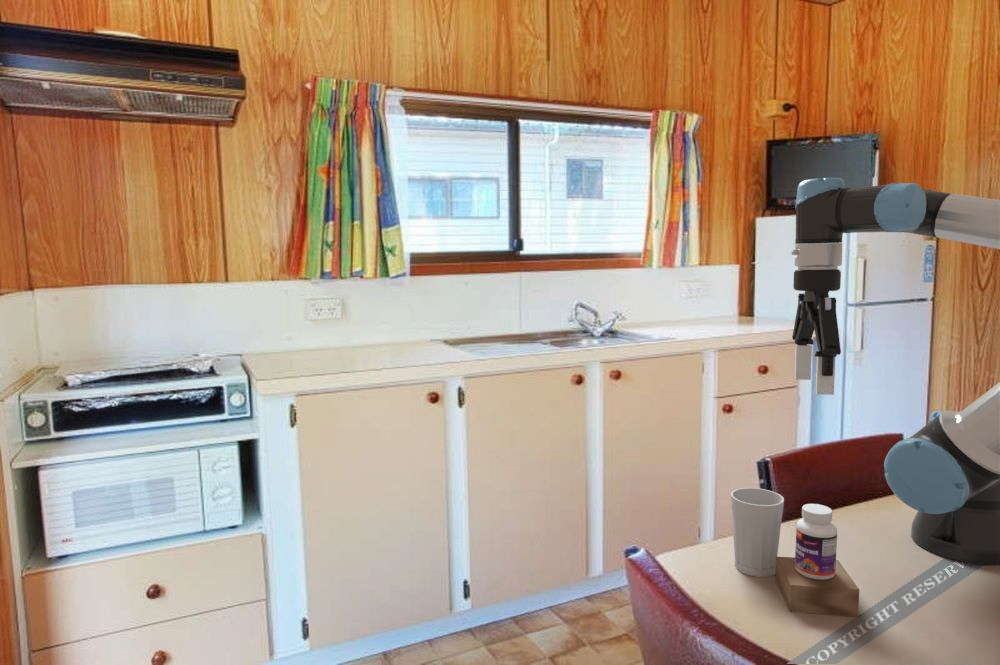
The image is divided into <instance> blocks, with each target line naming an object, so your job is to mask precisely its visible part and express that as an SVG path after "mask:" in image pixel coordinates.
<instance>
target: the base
mask: <svg viewBox="0 0 1000 665" xmlns="http://www.w3.org/2000/svg"><path fill="white" fill-rule="evenodd" d="M774 576H775V577H774V582H775V584H776V586H777V588H778V591H780V594H781V597H782V598H783V600H784V603H785V605H786V607H787V608H788V609H787V610H788V611H789V612H790V613H801V614H802V613H803V614H805V613H806V614H816V615H817V614H818V615H830V616H831V615H832V616H842V617H843V616H844V617H856V618H857V617H859V609H860V608H859V607H860V606H859V605H860V588H859V587H858V585H857V584H856V583H855V582H854V580H853V579H852V577H851V575H849V572H848V571H846V569H845V568H844V566H843V565H842V564H841V562H840V561H839V560H838V559H836V570H835V575H834V577H833V578H831V579H827V580H817V579H812V578H808V577H806V576H803V575H801V574H800V573H799V572H798V571H797V570H796V569H795V556H794V557H792V556H791V557H789V556H778V555H777V556H776V566H775V574H774Z"/></svg>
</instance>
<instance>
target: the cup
mask: <svg viewBox="0 0 1000 665" xmlns="http://www.w3.org/2000/svg"><path fill="white" fill-rule="evenodd" d="M730 499H731V501H730V502H731V511H732V512H731V513H732V529H733V530H732V531H733V532H732V533H733V546H734V547H733V548H734V549H733V550H734V567H735V569H736V568H737V569H738V570H737V569H736V570H737V571H739V572H740V571H741V572H740V573H742V574H744V575H748V576H751V577H752V576H753V577H758V578H767V577H771V576H775V566H776V556H777V557H778V554H779V553H778V552H779V546H780V545H779V544H780V536H781V526H782V520H783V513H784V507H785V506H784V505H785V498H784V496H783V495H782V494H779V493H777V492H776V491H772V490H769V489H765V488H759V487H745V488H744V487H742V488H741V487H740V488H737V489H734V490H733V491H732V492H730Z"/></svg>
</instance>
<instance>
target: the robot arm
mask: <svg viewBox="0 0 1000 665" xmlns="http://www.w3.org/2000/svg"><path fill="white" fill-rule="evenodd" d="M794 208H795V240H794V241H795V242H794V249H792V250H791V255H793V256H794V266H795V267H797V269H795V270H794V271H793V290H795V291H800V292H803V293H798V296H797V298H798V300H797V309H796V315H795V319H794V326H793V332H792V335H791V336H792V337H791V338H792V340H793V341H794V345H795V348H794V350H795V356H794V358H795V359H794V380H797V381H799V380H801V381H803V380H804V381H806V380H807V381H811V379H812V355H813V354H812V350H813V346H812V345H814V344H815V342H814V339H813V334H814V335H815V339H816V344H817V349H818V351H816V352H815V353H814V357H815V358H816V367H815V369H816V372H815V394H816V395H824V396H825V395H827V396H829V395H830V396H831V395H834V394H835V379H836V378H835V374H836V371H835V370H836V357H837V356H838V355H841V353H842V350H841V349H842V348H841V342H840V334H839V326H838V317H837V316H838V315H837V298H836V297H830V296H829V292H836V291H839V290H840V289H841V280H842V278H841V277H842V271H841V269H838V267H840V266H842V265H843V264H842V263H843V262H842V261H843V234H853V233H907V234H914V235H918V236H919V235H920V236H923V237H930V238H938V239H943V240H949V241H953V242H960V243H965V244H969V245H970V244H971V245H975V246H981V247H986V248H991V249H996V250H1000V199H995V198H989V197H982V196H974V195H966V194H960V193H959V194H958V193H949V192H944V191H942V192H941V191H936V190H932V189H927V188H926V189H925V188H922V186H921V185H920V184H918V183H914V182H905V183H904V182H902V183H898V182H892V183H888V184H882V185H873V186H872V185H871V186H861V187H854V188H852V187H846V185H845V180H844V179H843V178H841V177H822V178H811V179H809V178H808V179H805V180H802V181H801V182H799V184H798V185H797V190H796V201H795V205H794ZM883 463H884V464H883V467H884V468H883V469H884V478H885V481H886V483H887V485H888V487H889V488H890V489H891V491H892V492H893V494H894V495H895V496H896V497H897V498H898V499H899V500H900V501H901V502H902V503H904V504H905V505H907V507H909V508H912V509H913V510H915V511H916V514H915V516H914V518H913V520H912V523H911V532H910V536H911V539H912V540H913V541H914V543H916V544H917V545H918V546H920V547H921V548H923V549H925V550H927V551H928V552H931V553H933V554H936V555H939V556H941V557H945V558H949V559H951V560H955V561H960V562H964V563H971V564H977V565H989V566H995V565H996V566H997V565H1000V381H999V382H998V383H996V384H995V385H994V386H993V387H991V388H990V389H988V391H986V392H984V393H983V394H982V395H981V396H979V397H978V398H977V399H975V400H974V401H973V402H972V403H971V404H969V405H968V406H966V407H965V408H964V409H963V410H962V411H961V410H960V411H955V410H936V411H935V410H934V411H933V412H931V413H930V415H929V420H928V421H927V424H926V425H925V426H923V427H921V428H920V429H919V430H918V431H917V432H916V433H914V434H912V435H911V436H910V437H908V438H904V439H902V440H899V441H898V442H896V443H895V444H894V445H893V446H892V447H891V448H890V449H889V451H888V453H887V454H886V456H885V458H884V462H883Z"/></svg>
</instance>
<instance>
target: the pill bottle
mask: <svg viewBox="0 0 1000 665" xmlns="http://www.w3.org/2000/svg"><path fill="white" fill-rule="evenodd" d="M801 517H802V518H799V520H798V521H797V522H796V526H795V527H796V528H795V529H796V530H795V552H794V553H795V554H794V558H795V569H796V570H797V571H798V572H799V573H800V574H801V575H803V576H806V577H808V578H812V579H817V580H827V579H831V578H833V577H834V575H835V570H836V560H837V544H838V543H837V542H838V528H837V526H836V525H835V524H834V523H833V522H832V521H833V510H832V508H830V507H829V506H827V505H823V504H819V503H806V504H803V506H802V507H801Z"/></svg>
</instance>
